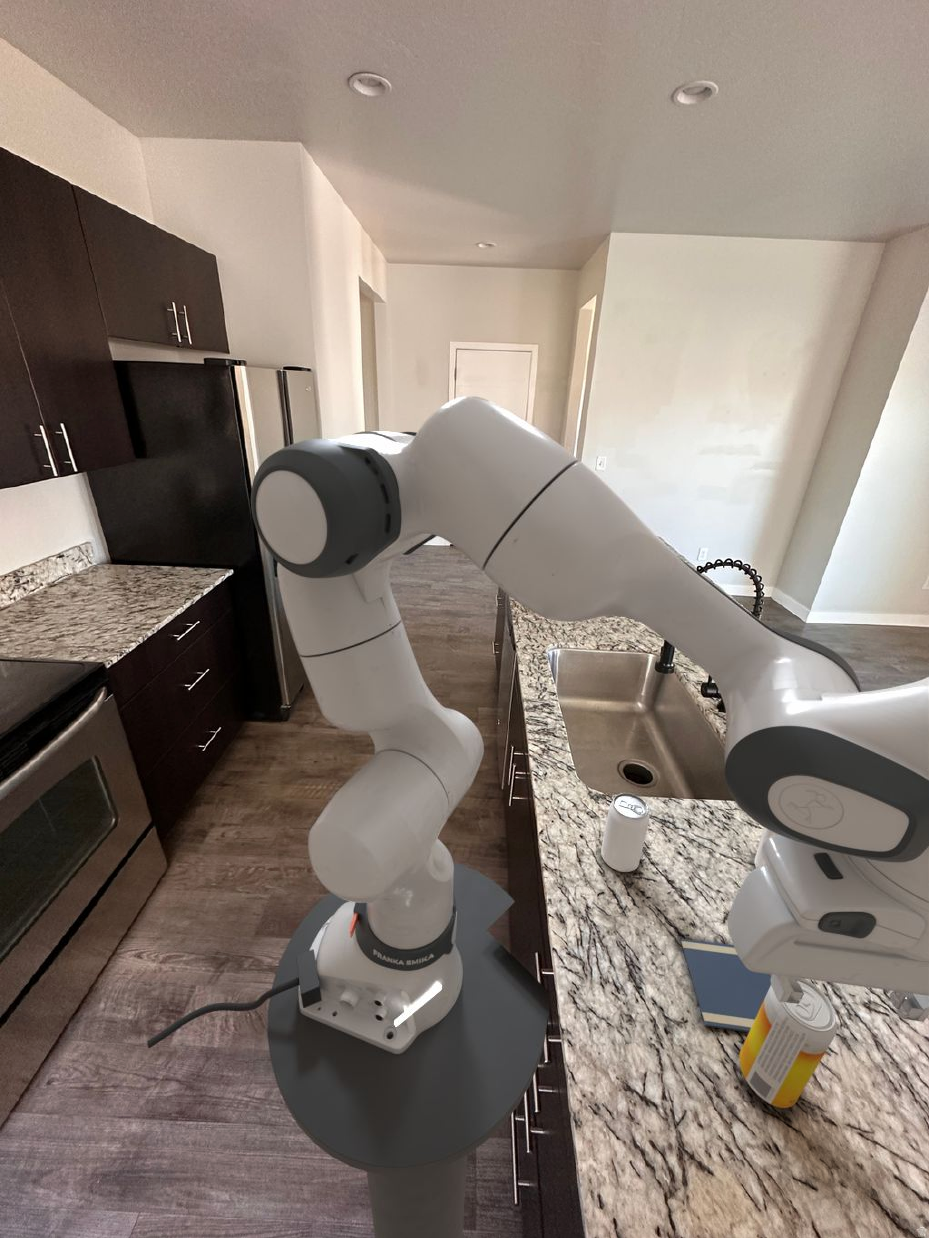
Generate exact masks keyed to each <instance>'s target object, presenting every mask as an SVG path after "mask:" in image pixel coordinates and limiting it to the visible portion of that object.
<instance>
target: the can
mask: <svg viewBox="0 0 929 1238" xmlns="http://www.w3.org/2000/svg"><path fill="white" fill-rule="evenodd" d="M650 819H651V817H650V810H649V806H648V804H647V802H646V801H645V800H644V799H643V798H642V797H640V796H638V795H636V794H633V793H630V792H620V793H618V794H616V795H615V796H614V797H613V799H612V801H611V803H610V804H609V807H608V811H607V816H606V820H605V821H606V822H605V826H604V832H603V837H602V843H601V849H600V854H601V857H602V859H603V862H605V863H606V865H607V866H609V867H610V868H611V869H613V870H615V871H617V872H620V873H628V872H633V871H635V870H636V869H637V868H638V867H639V865H640V861H641V857H642V853H643V849H644V845H645V841H646V836H647V832H648V828H649V824H650Z"/></svg>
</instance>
